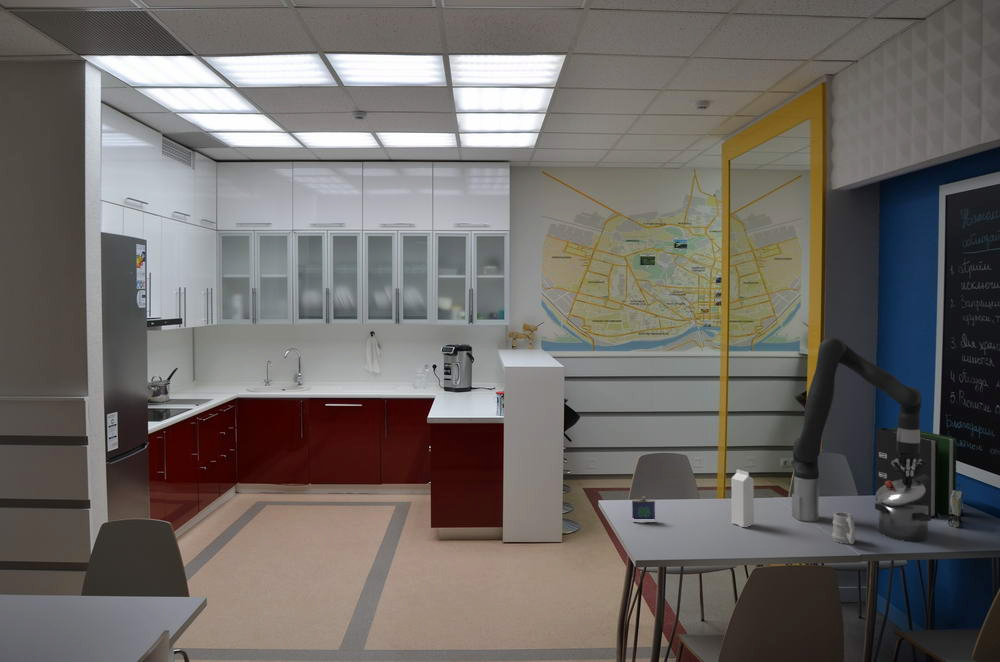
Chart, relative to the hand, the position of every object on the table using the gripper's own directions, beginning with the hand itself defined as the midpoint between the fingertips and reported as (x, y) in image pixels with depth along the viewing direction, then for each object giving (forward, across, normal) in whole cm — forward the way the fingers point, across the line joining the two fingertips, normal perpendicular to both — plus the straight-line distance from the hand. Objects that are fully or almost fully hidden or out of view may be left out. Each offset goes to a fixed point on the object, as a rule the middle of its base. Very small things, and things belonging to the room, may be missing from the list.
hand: (907, 485), depth 250 cm
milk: (+20, -56, +17) cm, 62 cm away
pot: (+19, -1, 0) cm, 19 cm away
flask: (+20, -94, +25) cm, 100 cm away
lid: (+3, -1, 0) cm, 3 cm away
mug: (+19, -27, -6) cm, 34 cm away
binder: (+19, +25, +30) cm, 43 cm away
